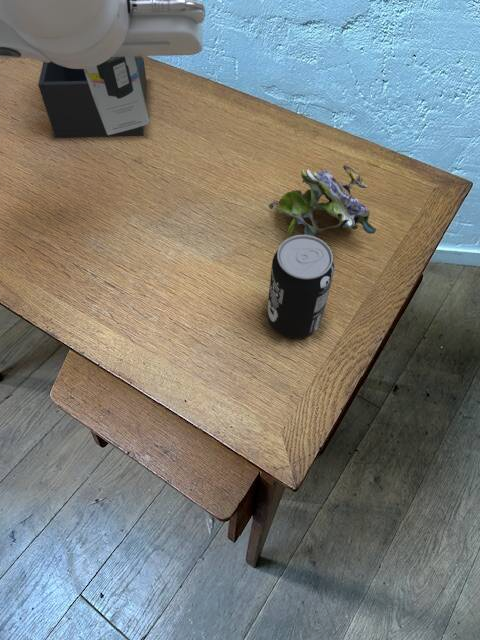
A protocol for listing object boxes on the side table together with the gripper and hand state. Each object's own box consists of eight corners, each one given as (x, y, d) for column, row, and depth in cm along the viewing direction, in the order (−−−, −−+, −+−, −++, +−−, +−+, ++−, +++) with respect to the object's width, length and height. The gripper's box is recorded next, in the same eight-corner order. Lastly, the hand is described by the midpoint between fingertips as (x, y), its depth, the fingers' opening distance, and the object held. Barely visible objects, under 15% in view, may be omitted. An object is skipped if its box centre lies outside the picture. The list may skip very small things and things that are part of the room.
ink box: (90, 91, 63) (55, -16, 53) (130, 80, 64) (104, -28, 54) (107, 137, 59) (73, 29, 49) (150, 124, 60) (125, 15, 50)
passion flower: (336, 246, 80) (399, 219, 70) (286, 277, 74) (346, 253, 64) (300, 176, 79) (359, 138, 69) (247, 202, 73) (302, 165, 63)
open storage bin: (55, 137, 84) (37, 84, 76) (65, 84, 91) (50, 30, 83) (143, 135, 84) (135, 82, 77) (146, 82, 92) (139, 29, 84)
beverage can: (258, 305, 68) (263, 240, 58) (307, 290, 69) (320, 224, 59) (279, 349, 64) (288, 288, 54) (329, 332, 66) (348, 270, 56)
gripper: (203, -44, 42) (205, 15, 56) (-69, -42, 41) (0, 18, 55) (206, 45, 44) (208, 81, 57) (-58, 49, 43) (7, 85, 56)
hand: (104, 50), depth 56 cm, fingers closed on ink box, 6 cm apart
